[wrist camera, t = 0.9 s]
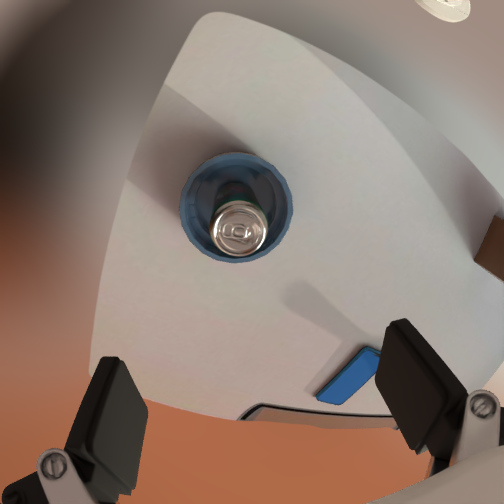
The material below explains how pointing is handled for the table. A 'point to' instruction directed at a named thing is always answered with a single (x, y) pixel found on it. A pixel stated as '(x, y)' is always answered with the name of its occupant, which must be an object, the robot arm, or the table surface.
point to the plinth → (493, 250)
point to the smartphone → (351, 377)
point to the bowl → (226, 171)
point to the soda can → (237, 220)
